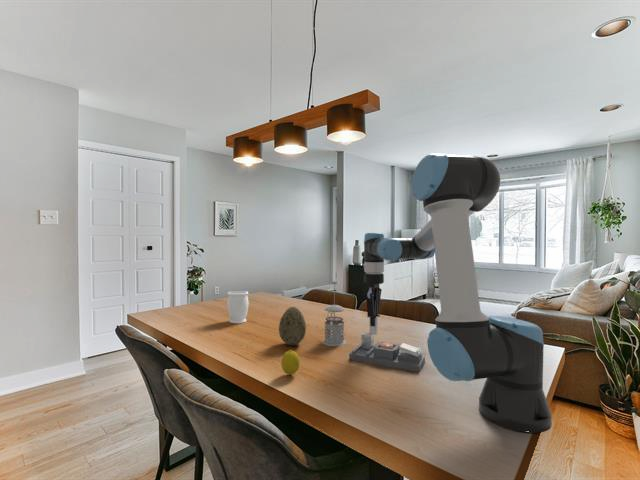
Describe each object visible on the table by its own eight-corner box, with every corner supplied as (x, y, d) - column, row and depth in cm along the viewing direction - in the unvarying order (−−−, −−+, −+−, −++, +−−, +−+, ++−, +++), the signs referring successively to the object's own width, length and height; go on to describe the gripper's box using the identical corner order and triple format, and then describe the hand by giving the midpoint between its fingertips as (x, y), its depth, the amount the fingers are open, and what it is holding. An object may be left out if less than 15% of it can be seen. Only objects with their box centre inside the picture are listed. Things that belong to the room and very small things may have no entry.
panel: (419, 372, 104) (419, 356, 104) (349, 359, 115) (349, 345, 115) (424, 361, 113) (424, 347, 113) (359, 350, 124) (359, 337, 124)
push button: (391, 356, 111) (391, 347, 111) (378, 354, 113) (378, 345, 113) (394, 352, 115) (394, 344, 115) (382, 350, 117) (382, 342, 117)
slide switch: (370, 349, 118) (371, 335, 118) (361, 348, 120) (361, 334, 120) (373, 347, 121) (373, 333, 121) (364, 345, 123) (364, 332, 123)
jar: (225, 320, 168) (225, 291, 168) (246, 318, 173) (246, 289, 173) (229, 325, 159) (229, 294, 159) (250, 323, 163) (250, 292, 163)
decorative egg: (311, 343, 132) (311, 306, 132) (294, 351, 123) (294, 311, 123) (290, 338, 138) (290, 303, 138) (273, 345, 129) (273, 307, 129)
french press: (326, 347, 128) (326, 283, 127) (318, 338, 139) (318, 279, 139) (349, 345, 130) (350, 282, 130) (340, 336, 142) (340, 278, 141)
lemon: (290, 370, 106) (290, 345, 106) (303, 375, 102) (303, 349, 102) (277, 376, 101) (277, 350, 101) (290, 381, 98) (290, 354, 98)
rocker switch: (418, 357, 107) (419, 351, 107) (399, 349, 110) (400, 344, 110) (420, 352, 111) (421, 347, 111) (402, 346, 114) (403, 341, 114)
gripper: (370, 270, 134) (369, 328, 134) (358, 274, 122) (358, 336, 123) (388, 271, 131) (387, 330, 131) (378, 275, 119) (377, 339, 119)
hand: (373, 333), depth 127 cm, fingers closed
